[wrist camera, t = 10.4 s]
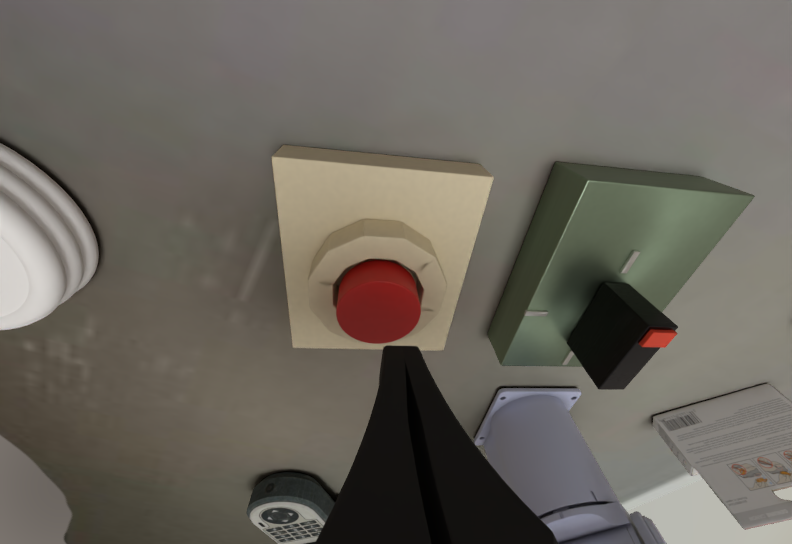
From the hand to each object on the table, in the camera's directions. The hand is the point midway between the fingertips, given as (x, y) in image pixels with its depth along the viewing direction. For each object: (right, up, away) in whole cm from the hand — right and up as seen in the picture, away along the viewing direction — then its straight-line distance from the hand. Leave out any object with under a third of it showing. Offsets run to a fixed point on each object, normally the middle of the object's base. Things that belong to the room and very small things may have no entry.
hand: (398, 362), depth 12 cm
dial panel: (+12, +4, +8) cm, 15 cm away
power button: (-1, +3, +4) cm, 4 cm away
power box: (-1, +5, +6) cm, 8 cm away
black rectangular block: (+12, +1, +6) cm, 14 cm away
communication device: (-10, -27, +28) cm, 40 cm away
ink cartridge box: (+33, -10, +20) cm, 40 cm away
